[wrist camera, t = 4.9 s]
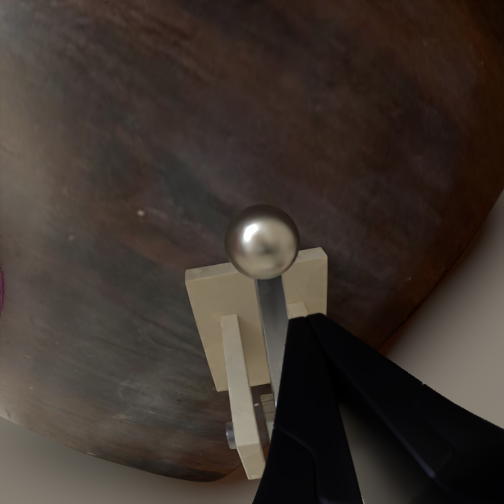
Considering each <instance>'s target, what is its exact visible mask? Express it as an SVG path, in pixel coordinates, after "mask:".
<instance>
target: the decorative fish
mask: <svg viewBox="0 0 504 504" xmlns="http://www.w3.org/2000/svg"><path fill="white" fill-rule="evenodd" d="M3 299H4V281H3V273H2V270H1V268H0V315H1V312H2V309H3Z"/></svg>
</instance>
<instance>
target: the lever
mask: <svg viewBox="0 0 504 504" xmlns="http://www.w3.org/2000/svg"><path fill="white" fill-rule="evenodd" d="M224 245H225V251H226V254H227V257H228V259H229V261H230V263H231V264H232V265H233V267H234V268H235V269H236V270H237V271H239V272H240V273H241V274H243V275H245V276H247V277H249V278H252V279H254V286H255V292H256V298H257V304H258V311H259V317H260V323H261V329H262V336H263V342H264V348H265V354H266V360H267V367H268V373H269V379H270V385H271V391H272V394H266V395H261V396H260V398H261V404H262V409H263V415H264V420H265V425H266V431H267V436H268V440H269V445H270V441H271V435H272V430H273V424H274V418H275V411H276V405H277V398H278V391H279V385H280V378H281V371H282V363H283V356H284V349H285V341H286V333H287V326H288V320H289V318H288V311H287V304H286V296H285V289H284V282H283V275H282V274H283V273H285V272H286V271H287V270H288V269H289V268H290V267H291V266H292V265H293V263H294V262H295V260H296V258H297V256H298V253H299V248H300V236H299V232H298V229H297V226H296V224H295V222H294V221H293V219H292V218H291V217H290V216H289V215H288V214H287V213H286V212H284V211H283V210H281V209H280V208H277V207H275V206H272V205H266V204H258V205H253V206H249V207H247V208H245V209H243V210H241V211H240V212H239V213H237V214H236V215H235V216H234V218H233V219H232V220H231V222H230V223H229V225H228V227H227V230H226V233H225V239H224Z"/></svg>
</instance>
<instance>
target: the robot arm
mask: <svg viewBox="0 0 504 504" xmlns="http://www.w3.org/2000/svg"><path fill="white" fill-rule="evenodd" d="M361 495H362V497H363V500H364V502H365V504H504V429H503V428H500V427H499V426H497V425H494V424H493V423H491V422H489V421H487V420H485V419H483V418H481V417H479V416H477V415H475V414H473V413H471V412H469V411H468V410H466V409H464V408H462V407H460V406H458V405H457V404H455V403H453V402H452V401H450V400H449V399H447V398H445V397H444V396H442V395H441V394H439V393H438V392H436V391H434V390H433V389H432V388H430V387H428V386H427V385H426V384H423V385H422V382H421V381H420V380H418V379H417V378H415V377H414V376H412V375H411V374H409V373H408V372H407V371H405V370H404V369H402V368H401V367H399V366H398V365H396V364H395V363H393V362H392V361H390V360H389V359H387V358H386V357H385V356H383V355H382V354H381V353H379V352H378V351H376V350H375V349H373V348H372V347H370V346H369V345H368V344H366V343H365V342H363V341H362V340H360V339H359V338H357V337H356V336H355V335H353V334H352V333H350V332H349V331H347V330H346V329H345V328H343V327H342V326H340V325H339V324H337V323H336V322H334V321H333V320H332V319H330V318H329V317H327V316H326V315H324V314H323V313H320V312H318V313H314V314H309V315H306V316H305V317H304V316H299V317H294V318H290V319H289V320H288V326H287V333H286V341H285V349H284V356H283V363H282V371H281V378H280V385H279V391H278V398H277V405H276V411H275V418H274V424H273V430H272V435H271V441H270V447H269V451H268V456H267V460H266V465H265V468H264V471H263V474H262V478H261V481H260V485H259V487H258V490H257V492H256V495H255V498H254V500H253V503H252V504H363V501H362V497H361Z"/></svg>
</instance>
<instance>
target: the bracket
mask: <svg viewBox="0 0 504 504" xmlns="http://www.w3.org/2000/svg"><path fill="white" fill-rule="evenodd" d="M282 275H283V282H284V289H285V296H286V304H287V311H288V318H289V319H290V318H294V317H299V316H304V317H305V316H306V315H309V314H314V313H318V312H320V313H323V314H324V315H326V307H327V255H326V254H325V252H324V251H323V249H322V248H321V247H318V248H312V249H306V250H300V251H299V253H298V256H297V258H296V260H295V262H294V263H293V265H292V266H291V267H290V268H289V269H288V270H287V271H286V272H285V273H283V274H282ZM185 284H186V288H187V292H188V295H189V299H190V303H191V306H192V310H193V313H194V317H195V320H196V324H197V327H198V331H199V334H200V338H201V341H202V344H203V348H204V351H205V354H206V358H207V361H208V364H209V367H210V370H211V374H212V377H213V380H214V383H215V386H216V389H217V391H225V390H229V398H230V406H231V413H232V421H233V422H228V423H226V434H227V439H228V443H229V447H230V448H231V449H235V448H237V450H238V453H239V455H240V458H241V461H242V463H243V466H244V469H245V471H246V474H247V476H248V479H250V480H251V479H257V478H262V474H263V471H264V468H265V465H266V464H265V460H264V455H263V449H262V444H261V439H260V434H259V429H258V423H257V418H256V413H255V408H254V402H253V397H252V391H251V386H256V385H261V384H267V383H270V379H269V373H268V367H267V360H266V354H265V348H264V342H263V336H262V329H261V323H260V317H259V311H258V304H257V298H256V292H255V286H254V279H252V278H249V277H247V276H245V275H243V274H241V273H240V272H239V271H237V270H236V269H235V268H234V267H233V265H232V264H231V263H230V262H229V263H223V264H217V265H211V266H205V267H199V268H193V269H187V270H185Z"/></svg>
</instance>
